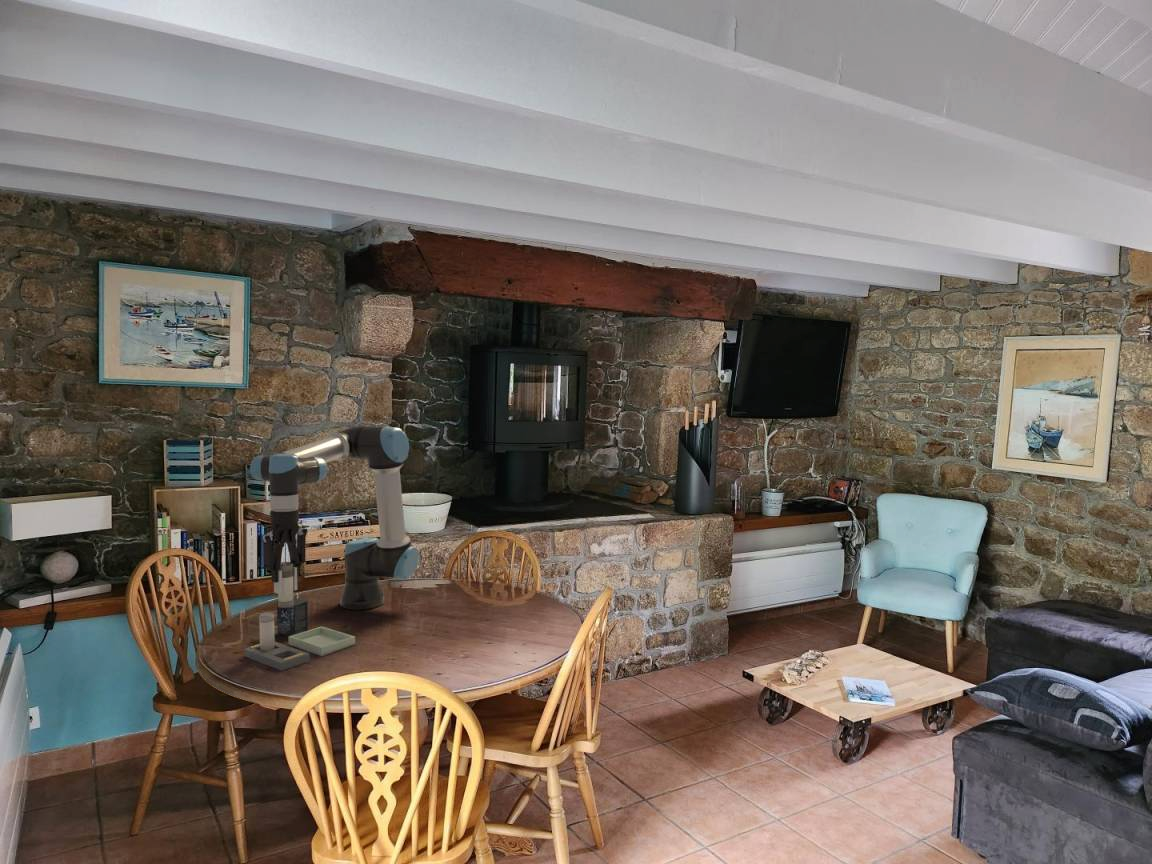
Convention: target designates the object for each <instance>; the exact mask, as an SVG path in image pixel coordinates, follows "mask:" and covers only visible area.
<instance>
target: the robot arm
mask: <svg viewBox="0 0 1152 864" xmlns="http://www.w3.org/2000/svg"><path fill="white" fill-rule="evenodd" d="M409 452H410V443H409V438H408V436H407V434H406V433H405V432H404V431H403V430H402V428H399V427H392V426H389V425H388V426H384V425H382V426H381V425H380V426H379V425H373V426H372V425H357V426H353V427H348V428H344V429H341V430H339V431H336V432H335V431H334V432H332V433H329V435H328V436H326V438H323V439H320V440H317V441H314V442H311V443H307V444H305V445H301V446H299V447H295V448H292V449H288V450H286V451H283V452H279V453H275V454H272V455H266V454H262V455H257V456H255V457H253V458H252V461H251V462H250V464H249V465H250V466H249V469H250V476H251V477H252V478H253V479H254V480H257V481H263V482H269V509H270V511H269V523H270V530H269V532H268V533H265V534H261V536H260V539H261V541H262V546H263V547H262V548H263V562H264V563H263V564H264V569H265V570H268V571H270V572H271V574H270V575H271V576H270V577H271V581H272V582H271V583H273V593H274V594H277V595H278V594H282V571H281V570H279V568H280V563H282V562H281V561H282V557H283V556H282V554H283V550H284V549H283V548H284V547H285V544H286V546H287V549H288V554H289V560H290V562H292V563H293V591H297V590H298V578H299V577H300V568H301V567H302V565H303V564H304V563H306V560H307V559H306V558H307V557H306V551H307V550H306V547H307V546H306V545H307V543H306V542H307V540H306V539H307V534H308V530H309V529H308V528H304V527H300V526H299V521H300V516H299V514H300V512H299V509H298V508H299V507H300V506H299V505H300V504H299V486H303V485H307V484H316V483H319V482H321V481H323V480H324V479H326V477H327V474H328V472H329V471H328V463H329V462H332V461H337V462H341V461H344V460H361V461H367V464H368V465H367V467H368V469H369V470H370V471H372V472H373V478H374V486H375V497H376V499H375V500H376V507H377V518H378V519H377V520H378V526H379V528H378V529H379V538H377V537H363V538H359V539H354V540H351V541H348V542H346V544H345V545H344V554H343V555H344V580H345V581H344V586H343V590H342V594H341V596H340V601H339V603H340V604H339V605H340V607H341V608H344V609H346V610H348V609H349V610H368V609H373V608H377V607H380V606H382V605H384V603H385V595H384V593H383V588H382V586H381V584H380V578H383V579H392V580H393V579H394V580H395V581H396V580H407V579H410V578H411V577H412V576H413V575H414V573H415V572H416V570H417V568H418V565H419V559H420V551H419V549H418V548H417V547H416V546H413V545H412V543H411V537H410V536H408V535H406V524H405V516H404V515H405V513H404V503H403V494H402V493H403V492H402V483H401V474H400V473H401V468H402V467H403V466H404V461H405V460H406V459H407V458H408V457H409ZM296 536H297V537H296Z"/></svg>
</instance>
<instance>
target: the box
mask: <svg viewBox="0 0 1152 864" xmlns="http://www.w3.org/2000/svg"><path fill="white" fill-rule="evenodd" d="M293 599H294V606H292V607H287V608H280V607H278V600H277V601H276V621H277V622H276V624H277V625H276V627H277V628H276V629H277V632H276V633H277V634H280V635H284V636H287V637H289V636H292V635H295V634H299V633H302V632H305V631H308V630H309V625H308V623H309V622H308V621H309V620H308V619H309V617H308V615H309V614H308V613H309V611H308V608H309V607H308V604H309V603H308V600H305V599H301V598H296V597H293Z"/></svg>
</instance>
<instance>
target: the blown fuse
mask: <svg viewBox="0 0 1152 864" xmlns="http://www.w3.org/2000/svg"><path fill="white" fill-rule="evenodd" d="M279 570H281V571H282V594H277V595H278V596H277V597H278V598H277V599H278V600H277V601H278V607H280V608H287V607H292V606H294V599H293V598H294V590H293V563H292V562H291V561H283V562H280V568H279Z"/></svg>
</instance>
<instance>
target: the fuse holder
mask: <svg viewBox="0 0 1152 864" xmlns="http://www.w3.org/2000/svg"><path fill="white" fill-rule="evenodd" d="M243 652H244V655H243V657H245V658H247V659H250V660H252V661H255V662H258V663H261V664H262V665H266V666H268V667H271V668H274V669H276V670H279V671H281V672H282V671H284V670H288V669H290V668H291V669H292V668H293V667H296V666H299V665H303V664H305V663H308V662H310V661H311V660H310V659H311V658H310V656H311V655H310V652H307V651H305V650H304V651H303V650H302V649H299V648H296V647H295V648H294V647H293V646H290V645H286V644H283V643H281V642H278V641H275V649H274V650H270V651H267V652H263V651H260V643H258V644H254V645H252V646H249V647H247V648H244V649H243Z"/></svg>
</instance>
